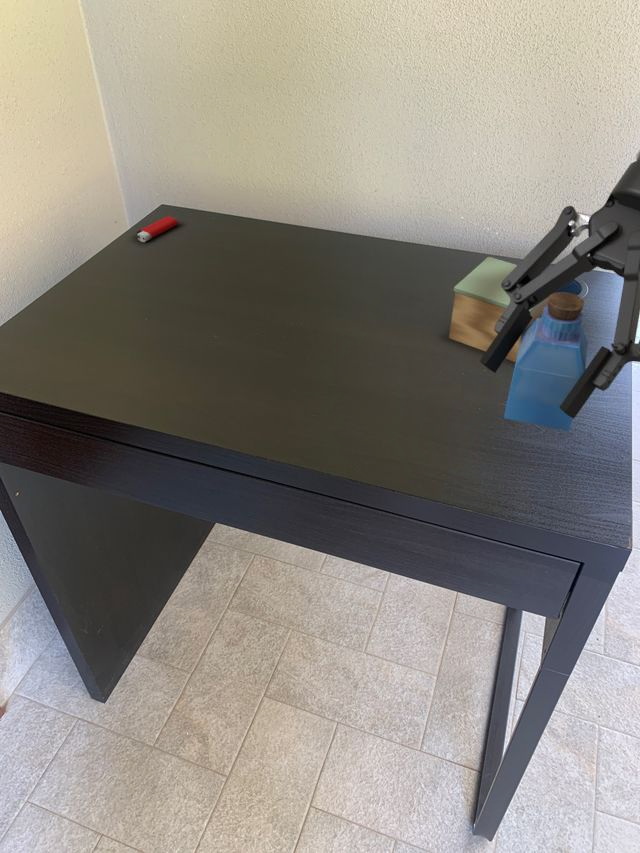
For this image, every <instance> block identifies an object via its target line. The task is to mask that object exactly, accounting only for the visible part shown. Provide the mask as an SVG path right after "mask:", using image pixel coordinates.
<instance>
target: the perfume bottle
mask: <svg viewBox="0 0 640 853" xmlns="http://www.w3.org/2000/svg"><path fill="white" fill-rule="evenodd" d="M584 307H585V300H584V299H583V298H582V297H581V296H579V295H577V294H574V293H571V292H565V291H560V292H558V291H556V292H555V293H553V294H551V295H550V296H549V297H548V305H547V306H546V307H545V308H544V310H543V314H542V318H537V319H536V320H535V321H534V322H533V323H532V324H531V325H530V326H529V327H528V328H526V329H525V330H524V331H523V332H522V336H521V341H520V345H519V350H518V354H517V359H516V362H514V363H515V364H514V368H513V369H514V370H513V373H512V378H511V382H510V387H509V392H508V396H507V401H506V405H505V409H504V416H503V419H507V420H512V421H516V422H521V423H526V424H531V425H537V426H541V427H547V428H552V429H557V430H561V431H565V432H566V431H567V432H570V430H571V426H572V423H573V420H574V419H573V418H572V417H570V416H568V415H567V414H566V413H565V412H563V411H562V410H561V409H560V408H559V407H560V405H561V404H562V402H563V401H564V400H565V398H566V397H567V395H568V394H569V392H570V391H571V390H572V388H573V387H574V385H575V384H576V383H577V381H578V380H579V378H580V377H581V375H582V374H583V373H584V371H585V370H586V368H587V358H588V357H587V356H588V344H589V342H588V341H587V337H586V334H585V331H584V328H583V325H582V321H583V318H584V315H583V312H582V311H583V309H584Z"/></svg>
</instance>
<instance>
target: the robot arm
mask: <svg viewBox="0 0 640 853" xmlns="http://www.w3.org/2000/svg"><path fill="white" fill-rule="evenodd" d="M585 230H587V232H588V233H587V236H588V237H587V238H585V239H583V241H581V242H579V243H578V244H577V245H576V246H574V247H573V248H572V250H571V252H570V253H569V254H567V255H566V256H564V257H563V258H561V259H560V260H558V261H557V262H556V263H555V264H553V262H554V261H555V260H556V259H557V258H558V257H559V256H560V255H561V254H562V253H563V252H564V251H565V249H567V248H568V246H570V244H571V243H572V241H573V240H574V238H575V237H576V238H578V237H580V236H581V233H582V232H583V231H585ZM551 264H553V265H552V266H551ZM516 265H517V266H516V267H515V268H514V269H513V271H512V272H511V273H510V274H509V275H508V276H507V277H506V278H505V279H504V280H503V281H502V283H501V287H502V288H503V289H504V291H505V292H506V293H507V294H508V295H509V297H510V303H509V305H508V307H507V308H506V310H505V311H504V313H503V314H502V316H501V317H500V319H499V320H498V321H497V323H496V324H495V328H494V331H495V332H496V333H497V334H498V335H497V336H496V338H495V339H494V341H493V342H492V343H491V345H490V346H489V348H488V349H487V351H486V352H485V351H484V354H483V355H482V356H481V358H480V360H479V362H480V364H482V365H483V366H484V367H485V368H486V369H488V370H489V371H491V372H493V373H495V374H496V372H497V371H498V369H499V368H500V366H501V365H502V364H503V362H504V361H505V360H506V359H505V358H506V356H507V355H508V353H509V352H510V350H511V349H512V348H513V346H514V345H515V343H516V342H517V340H518V339H519V337H520V336H521V334H522V332H523V331H524V330H525V329H526V327H527V326H528V324H529V323H530V321H531V320H532V318H533V317H532V316H531V315H530V311H529V310H530V309H531V308H533V307H534V306H536V305H537V304H539V303H540V302H542V301H543V300H545V299H546V298H548V297H549V296H550V295H551V294H553V293H557V292H558V291H560V290H561V289H562V288H564V287H565V286H567V285H568V284H569V283H571V282H573V281H574V280H575V279H577V278H578V277H580V276H581V275H583V274H584V273H589V272H592V271H593V270H594V269H596V268H600V269H602V270H605V271H612V272H614V273H615V274H616V275H617V276H619V277H621V278H623V284H622V290H621V296H620V302H619V307H618V314H617V320H616V326H615V331H614V332H615V333H614V338H613V343H610V345H611V348H612V349H609V348H608V347H605V346H601V347H600V349H599V350H598V351H597V352H596V354H595V356H594V357H593V358H592V359H591V361H590V363H589V364H588V365H587V366H586V370H585V371H584V373H583V374H582V375H581V377H580V378H579V380H578V381H577V383H576V384H575V385H574V387H573V388H572V390H571V391H570V392H569V394H568V395H567V397H566V398H565V400H564V401H563V402H562V404H561V405H560V407H559V408H560V409H561V410H562V411H563V412H565V413H566V414H567V415H568V416H570V417H572V418H573V420H575V418H576V417H577V416H578V414H579V413H580V411H581V410H582V408H583V407H584V405H585V404H586V403H587V402H588V400H589V399H590V397H591V395H592V394H593V392H594V391H595V390H596V389H598V390H600V391H602V392H604V391H606V390H607V389H608V388H610V386H611V385H612V384H613V382H614V381H615V380H616V378H617V376H618V375H619V373H620V372H621V371H622V370H623V368H624V366H625V365H627V364H628V363H630V362H636V363H640V339H639V340H638V342H636V339H637V338H636V336H637V331H638V326H639V321H640V320H639V319H640V149H639V150H638V152H637V153H636V156H635V161H633V162H631V163H630V164H629V166H628V167H627V168H626V169H625V171H624V172H623V174H622V175H621V177H620V178H619V180H618V181H617V183H616V184H615V185H614V187H613V189H612V190H611V192H610V194H608V197H607V199H606V202H604V204H603V205H602V207H601V208H599V209H598V210H596V211H594V212H593V213H592V214H589V213H588V214H587V213H583V212H579V211H577V210H576V209H575V206H573V205H567V206H565V207H564V208H563V209H562V210H561V213H560V214H559V216H558V218H557V220H556V222H555V224H554V226H553V227H552V228H551V229H550V230H549V231H548V232H547V234H546V235H544V236H543V238H541V240H540V241H539V242H538V243H537V244H536V245H535V246H534V247H533V248H532V249H531V250H530V252H528V253H527V254H526V256H525V257H524V258H523V259H522V260H521V261H520V262H519V263H518V264H516ZM548 267H549V268H548ZM541 273H542V274H541Z"/></svg>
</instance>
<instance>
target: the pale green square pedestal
mask: <svg viewBox="0 0 640 853" xmlns="http://www.w3.org/2000/svg"><path fill="white" fill-rule="evenodd" d="M517 265H518V264H515V263H512V262H508V261H505V260H502V259H498V258H495V257H491V256H487V257H486V258H485V259H484V260H483V261H481V263H480V264H479V265H477V266H476V267H475V268H474V269H473V270H472V271H470V272H469V273H468V274H467V275H466V276H465V277H464V278H462V280H461V281H459V282H458V283H457V284H456V285H455V286H454V287H453V292H455V293H454V300H453V307H452V314H451V319H450V328H449V333H448V334H449V335H448V339H450V340H453V341H456V342H458V343H461V344H463V345H466V346H469V347H472V348H474V349H477V350H480V351H483V352H484V353H485V352H486V351H487V349H488V348H489V346H490V345H491V343H492V342H493V341H494V339H495V338H496V336H497V335H498V334H497V333H496V332H495V331H494V328H495V324H496V323H497V321H498V320H499V319H500V317H501V316H502V314H503V313H504V311H505V310H506V308H507V307H508V305H509V303H510V297H509V295H508V294H507V293H506V292H505V291H504V289H503V288H502V287H501V283H502V281H503V280H504V279H505V278H506V277H507V276H508V275H509V274H510V273H511V272H512V271H513V269H514V268H515V267H516V266H517ZM542 273H543V272H542ZM542 273H541V274H542ZM547 305H548V298H546V299H545V300H543V301H542V302H540V303H539V304H537V305H536V306H534V307H533V308H531V309H530V310H529V311H530V315H531V316H532V317H533V318H532V320H531V321H530V323H529V324H528V326H527V327H526V328H528V327H529V326H530V325H531V324H532V323H533V322H534V321H535V320H536V319H537V318H542V314H543V310H544V308H545V307H546V306H547ZM521 336H522V334H521ZM521 336H520V337H519V339H518V340H517V342H516V343H515V345H514V346H513V348H512V349H511V350H510V352H509V353H508V355H507V356H506V358H505V359H504V360H508V361H510V362H513V363H516V359H517V354H518V350H519V345H520V341H521Z"/></svg>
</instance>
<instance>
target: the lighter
mask: <svg viewBox="0 0 640 853" xmlns="http://www.w3.org/2000/svg"><path fill="white" fill-rule="evenodd" d="M178 222H179V221H178V220H177V219H176V218H174V217H172V216H168V215H167V216H165V217H163V218H160V219H159V220H157V221H155V222H153V223H151V224H149V225H147V226H145V227H143V228H141V229H139V230H137V231H136V236H137V240H138V241H139V242H142V243H146V242H148V241H149V240H152V239H154V238H155V237H157V236H159V235H161V234H163V233H165V232H167V231H168V230H171V229H172V228H174V227H176V226H178V225H179V223H178Z"/></svg>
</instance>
